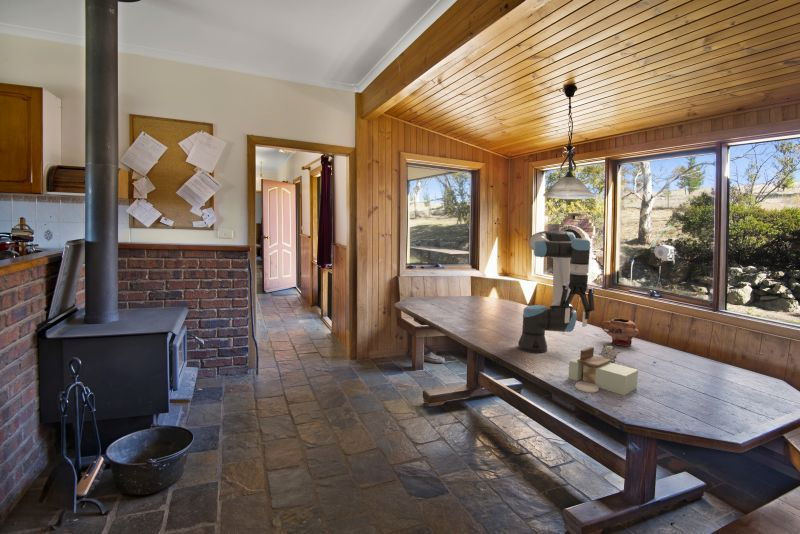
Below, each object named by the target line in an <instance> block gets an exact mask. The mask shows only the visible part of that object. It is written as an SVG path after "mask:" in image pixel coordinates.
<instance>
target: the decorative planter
mask: <svg viewBox="0 0 800 534" xmlns="http://www.w3.org/2000/svg"><path fill="white" fill-rule="evenodd" d="M605 325H607V326H608V330H606V329H605V328H604V327H605ZM600 327H601V329H602V330H603V331H604V332H605V333H606V335H608V336H610V337H611V340H612V342H611V344H612V345H613V344H614V345H618V346H622V347H623V346H624V347H625V346H626V347H628V346H629V347H630V346H631V345H632V343H633V342H632V341H633V340H632V339H633V337H636V336H637V335H639V333H640V330H639V329H638V328H637V324H636V323H635V322H634V321H632V320H629V319H623V318H613V319H611V320H604V321H602V322H601V323H600Z"/></svg>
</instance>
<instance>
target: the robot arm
mask: <svg viewBox="0 0 800 534" xmlns="http://www.w3.org/2000/svg"><path fill="white" fill-rule="evenodd" d="M528 245H529V248H530V249H531V250H532V251H533V256H534V257H537V258H552V259H553V262H552V264H553V267H552V303H551V304H550V305H549V308H547V306H546V305H543V304H535V305H534V304H533V305H528V306H526V307H524V308H523V310H522V311H523V313H522V329H521V331H522V332H521V335H520V338H519V340H518V343H517V348H518V350H520V351H523V352H527V353H535V354H536V353H537V354H539V353H540V354H541V353H546V352H548V344H547V339H546V336H545V335H546V334H545V333H546V332H561V333H570V332H572V331H574V329H575V327H576V324H577V323H576V322H577V316H578V315H577V314H578V313H577V311H576V310H575V309H574V306H573V305H572V304H571V303H572V300H573V299H574V296H575V295H577V296H579V298H580V299H581V300H580V301H581V303H582V306H583V309H584V311H583V312H582V322H581V323H582V324H581V327H582V328H583V327H587V326H588V325H587V324H588V320H590V313H591V312H594V311H595V302H594V301H595V300H594V298H595V297H594V292H595V288H592V287H589V286H588V283H589V282H588V281H589V275H588V274H589V266H590V253H591V240H590V238H576V235H575V234H574V232H571V231H551V230H550V231H549V230H548V231H545V230H542V231H539V232H536V233H534V234H532V235H531V236H530V237H529V240H528ZM586 292H587V293H586Z"/></svg>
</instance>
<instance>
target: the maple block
mask: <svg viewBox="0 0 800 534" xmlns="http://www.w3.org/2000/svg"><path fill="white" fill-rule="evenodd" d="M596 368H597V367H593V366H590V365H586V364H584V367H583V378H582V381H583V382H590V383H593V384H595V380H596Z"/></svg>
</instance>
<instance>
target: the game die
mask: <svg viewBox="0 0 800 534" xmlns="http://www.w3.org/2000/svg"><path fill="white" fill-rule="evenodd" d="M619 353H620V351H617V350H616V349H615V347H614V346H613V343H611V344H610V345H604V344H603V348H602V349H601V352H600V353H598V356H599V355H600V356H601V357H602V358H606V359H610V360H611V361H613V362H616V359H617V356H618V354H619Z"/></svg>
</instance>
